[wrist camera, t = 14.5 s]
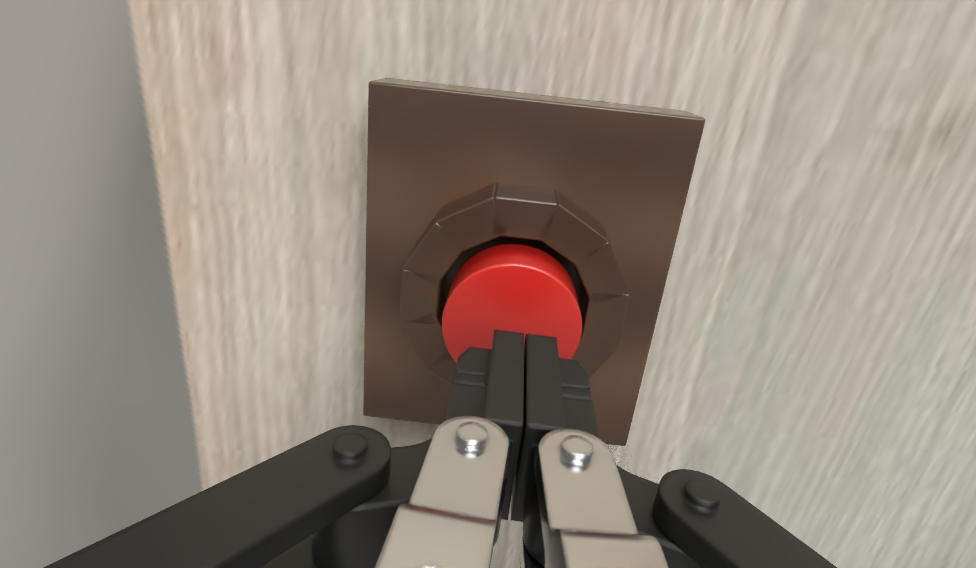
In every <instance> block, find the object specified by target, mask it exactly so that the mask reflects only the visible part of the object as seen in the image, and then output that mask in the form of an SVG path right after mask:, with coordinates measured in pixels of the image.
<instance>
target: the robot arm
mask: <svg viewBox="0 0 976 568" xmlns="http://www.w3.org/2000/svg"><path fill="white" fill-rule="evenodd" d="M511 496H512V504H511V520H514V521H521V522H523V537H522V543H521V548H520V555H519V561H520V568H837V567H836V566H834V565H833V564H831V563H830V562H829V561H827V560H826V559H825V558H823V557H822V556H821V555H819V554H818V553H817V552H815V551H814V550H813V549H811V548H810V547H809V546H807V545H806V544H805V543H803V542H802V541H800V540H799V539H798V538H796V537H795V536H794V535H792V534H791V533H790V532H788V531H787V530H786V529H784V528H783V527H782V526H780V525H779V524H778V523H776V522H775V521H773V520H772V519H771V518H769V517H768V516H767V515H765V514H764V513H763V512H761V511H760V510H759V509H757V508H756V507H755V506H753V505H752V504H751V503H749V502H748V501H747V500H745V499H744V498H742V497H741V496H740V495H738V494H737V493H736V492H734V491H733V490H732V489H730V488H729V487H728V486H726V485H725V484H723V483H722V482H720V481H719V480H717V479H715V478H714V477H712V476H709V475H707V474H705V473H701V472H698V471H694V470H686V469H680V470H673V471H671V472H668V473H667V474H665V475H664V476H663V477H662V478H661V481H660V483H659V484H657V483H654V482H652V481H649V480H646V479H643V478H641V477H638V476H636V475H633V474H631V473H629V472H627V471H625V470H623V469H622V468H620V467H619V466H617V465H616V462H615V459H614V456H613V454H612V451H611V450H610V448H609V447H608V446H607V445H606V444H605V443H604V442H603V441H602V440H600V437H599V431H598V426H597V421H596V415H595V410H594V404H593V401H592V394H591V390H590V383H589V378H588V373H587V372H586V371H585V369H584V368H583V367H582V366H581V365H580V363H579V362H578V361H577V360H572V359H564V358H559V354H558V344H557V337H553V336H545V335H537V334H529V333H526V336H525V342H524V333H520V332H512V331H505V330H497V329H494V335H493V343H492V349H485V348H477V347H469V348H468V349H467V350H465V351H464V352H463V353H462V354H461V355H460V356H459V357H458V361H457V366H456V371H455V375H454V379H453V384H452V388H451V393H450V397H449V401H448V406H447V410H446V415H445V419H444V422H443V423H442V424H440V425H439V426H438V428H437V429H436V431H435V433H434V435H433V437H432V438H431V439H429V440H427V441H425V442H423V443H420V444H416V445H412V446H405V447H395V448H391V447H390V444H389V441H388V440H387V438H386V437H385V436H384V435H383V434H381V433H380V432H378V431H377V430H374V429H372V428H369V427H364V426H355V425H351V426H342V427H338V428H334V429H331V430H329V431H327V432H324V433H322V434H320V435H318V436H316V437H314V438H312V439H310V440H308V441H306V442H304V443H302V444H299V445H297V446H295V447H293V448H291V449H289V450H287V451H285V452H283V453H281V454H279V455H277V456H275V457H272V458H270V459H268V460H266V461H264V462H262V463H260V464H258V465H256V466H254V467H252V468H250V469H248V470H245V471H243V472H241V473H239V474H237V475H235V476H233V477H231V478H229V479H227V480H225V481H223V482H221V483H218V484H216V485H214V486H212V487H210V488H208V489H206V490H204V491H202V492H200V493H198V494H196V495H194V496H191V497H189V498H187V499H185V500H184V501H181V502H179V503H177V504H175V505H173V506H171V507H169V508H166V509H164V510H162V511H160V512H158V513H156V514H154V515H152V516H150V517H148V518H146V519H144V520H142V521H140V522H138V523H135V524H133V525H131V526H129V527H127V528H125V529H123V530H121V531H119V532H117V533H115V534H112V535H110V536H108V537H106V538H104V539H102V540H100V541H98V542H96V543H94V544H92V545H90V546H88V547H86V548H83V549H81V550H79V551H77V552H75V553H73V554H71V555H69V556H67V557H65V558H63V559H61V560H59V561H56V562H54V563H52V564H50V565H48V566H46V567H44V568H490V563H491V557H492V551H493V546H494V544H495V543H496V541H497V538H498V534H499V528H500V521H501V519H505V520H508V514H509V508H510V502H511Z"/></svg>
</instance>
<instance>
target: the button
mask: <svg viewBox="0 0 976 568" xmlns="http://www.w3.org/2000/svg"><path fill="white" fill-rule="evenodd" d="M494 329H497V330H505V331H512V332H520V333H524V342H525V336H526V333H529V334H537V335H545V336H553V337H557V344H558V354H559V358H564V359H572V358H573V356H574V354H575V353H576V351H577V348H578V346H579V343H580V339H581V335H582V317H581V312H580V307H579V303H578V299H577V294H576V290H575V287H574V284H573V281H572V279H571V277H570V275H569V274H568V272H567V271H566V270H565V268H564V267H563V266H562V265H561V264H560V263H559V262H558V261H557V260H556V259H555V258H553V257H552V256H550V255H549V254H547V253H546V252H544V251H541V250H539V249H537V248H534V247H531V246H526V245H521V244H504V245H498V246H494V247H491V248H488V249H485V250H483V251H481V252H479V253H477V254H476V255H474V256H473V257H471V258H470V259H469V260H468V261H466V262H465V263H464V264H463V266H462V267H461V268H460V269H459V271H458V272H457V274H456V275H455V277H454V279H453V281H452V284H451V287H450V290H449V294H448V297H447V300H446V304H445V307H444V310H443V316H442V334H443V338H444V342H445V345H446V347H447V349H448V352H449V353H450V355H451V356H452V358H453V360H454V361H455V362H456V363H457V361H458V357H459V356H460V355H461V354H462V353H463V352H464V351H465V350H467V349H468V348H469V347H477V348H485V349H492V343H493V335H494Z"/></svg>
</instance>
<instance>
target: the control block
mask: <svg viewBox="0 0 976 568" xmlns="http://www.w3.org/2000/svg"><path fill="white" fill-rule="evenodd" d="M704 124H705V119H704V118H702V117H700V116H697V115H694V114H691V113H689V112H686V111H680V110H671V109H662V108H653V107H644V106H635V105H626V104H617V103H608V102H599V101H590V100H581V99H572V98H563V97H554V96H545V95H536V94H527V93H518V92H508V91H499V90H490V89H481V88H472V87H463V86H454V85H445V84H436V83H427V82H418V81H409V80H400V79H391V78H384V79H379V80H374V81H370V82H369V98H368V160H367V221H366V282H365V344H364V405H363V414H364V415H365V416H372V417H380V418H389V419H398V420H406V421H415V422H423V423H432V424H442V423H443V422H444V419H445V415H446V410H447V406H448V401H449V397H450V393H451V388H452V384H453V379H454V375H455V371H456V366H457V363H456V362H455V361H454V360H453V358H452V356H451V355H450V353H449V352H448V349H447V347H446V345H445V342H444V338H443V334H442V316H443V310H444V307H445V304H446V300H447V297H448V294H449V290H450V287H451V284H452V281H453V279H454V277H455V275H456V274H457V272H458V271H459V269H460V268H461V267H462V266H463V264H464V263H465V262H466V261H468V260H469V259H470V258H471V257H473V256H474V255H476V254H477V253H479V252H481V251H483V250H485V249H488V248H491V247H494V246H498V245H504V244H521V245H526V246H531V247H534V248H537V249H539V250H541V251H544V252H546V253H547V254H549V255H550V256H552V257H553V258H555V259H556V260H557V261H558V262H559V263H560V264H561V265H562V266H563V267H564V268H565V270H566V271H567V272H568V274H569V275H570V277H571V279H572V281H573V284H574V287H575V290H576V294H577V299H578V303H579V307H580V312H581V317H582V335H581V339H580V343H579V346H578V348H577V351H576V353H575V354H574V356H573V358H572V360H577V361H578V362H579V363H580V365H581V366H582V367H583V368H584V369H585V371H586V372H587V373H588V378H589V383H590V390H591V394H592V401H593V404H594V410H595V415H596V421H597V426H598V431H599V437H600V440H602V441H603V442H604V443H605V444H612V445H620V446H625V445H626V442H627V438H628V434H629V430H630V426H631V422H632V418H633V414H634V410H635V405H636V401H637V397H638V393H639V389H640V385H641V381H642V377H643V373H644V369H645V365H646V361H647V356H648V352H649V348H650V344H651V340H652V336H653V332H654V328H655V324H656V320H657V316H658V312H659V307H660V303H661V299H662V295H663V291H664V287H665V283H666V279H667V275H668V271H669V267H670V263H671V258H672V254H673V250H674V246H675V242H676V238H677V234H678V230H679V226H680V222H681V218H682V214H683V209H684V205H685V201H686V197H687V193H688V189H689V185H690V181H691V177H692V173H693V169H694V165H695V160H696V156H697V152H698V148H699V144H700V140H701V136H702V132H703V128H704Z"/></svg>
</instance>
